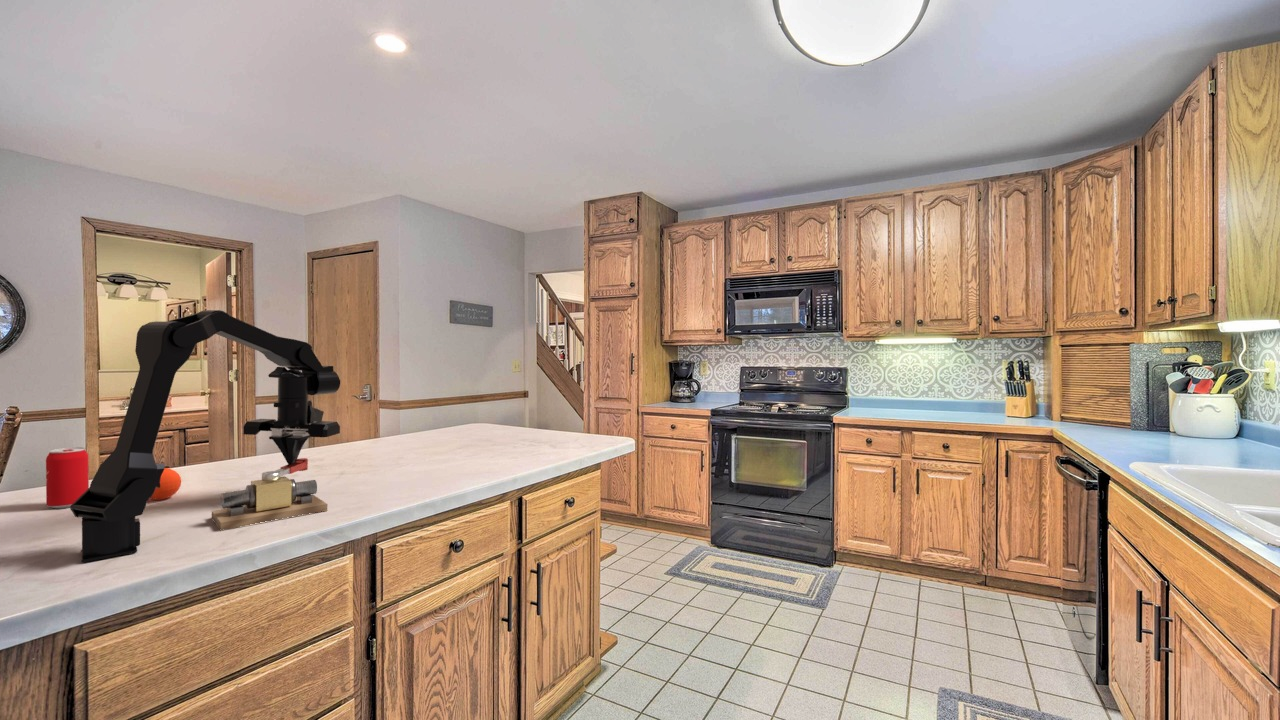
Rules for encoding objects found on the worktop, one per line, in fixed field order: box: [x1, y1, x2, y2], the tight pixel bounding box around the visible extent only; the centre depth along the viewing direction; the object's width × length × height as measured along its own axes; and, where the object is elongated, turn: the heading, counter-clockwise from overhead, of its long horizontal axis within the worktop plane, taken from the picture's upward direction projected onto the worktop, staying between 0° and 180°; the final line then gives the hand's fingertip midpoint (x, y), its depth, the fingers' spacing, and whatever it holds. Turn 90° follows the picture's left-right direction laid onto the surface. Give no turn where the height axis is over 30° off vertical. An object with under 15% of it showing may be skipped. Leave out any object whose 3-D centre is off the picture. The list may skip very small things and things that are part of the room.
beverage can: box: [45, 446, 90, 509], centre depth 115 cm, size 6×6×12 cm
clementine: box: [149, 467, 182, 501], centre depth 120 cm, size 8×7×7 cm
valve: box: [220, 476, 318, 517], centre depth 111 cm, size 16×5×6 cm, turn 136°
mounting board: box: [211, 494, 328, 531], centre depth 111 cm, size 18×10×2 cm, turn 136°
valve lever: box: [261, 457, 309, 481], centre depth 116 cm, size 14×3×2 cm, turn 3°
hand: (291, 465), depth 122 cm, fingers closed
